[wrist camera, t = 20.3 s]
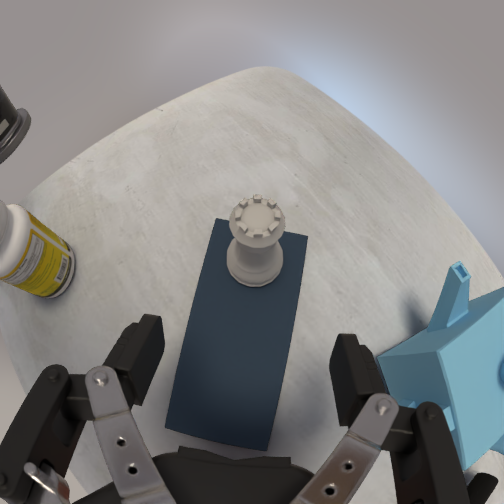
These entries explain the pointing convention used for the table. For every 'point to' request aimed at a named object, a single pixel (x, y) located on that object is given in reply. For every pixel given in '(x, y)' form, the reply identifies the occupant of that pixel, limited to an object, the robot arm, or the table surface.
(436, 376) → the teapot
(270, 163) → the table surface
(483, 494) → the figurine
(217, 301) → the rectangular board
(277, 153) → the table surface
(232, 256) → the rook chess piece
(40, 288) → the pill bottle
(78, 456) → the table surface
